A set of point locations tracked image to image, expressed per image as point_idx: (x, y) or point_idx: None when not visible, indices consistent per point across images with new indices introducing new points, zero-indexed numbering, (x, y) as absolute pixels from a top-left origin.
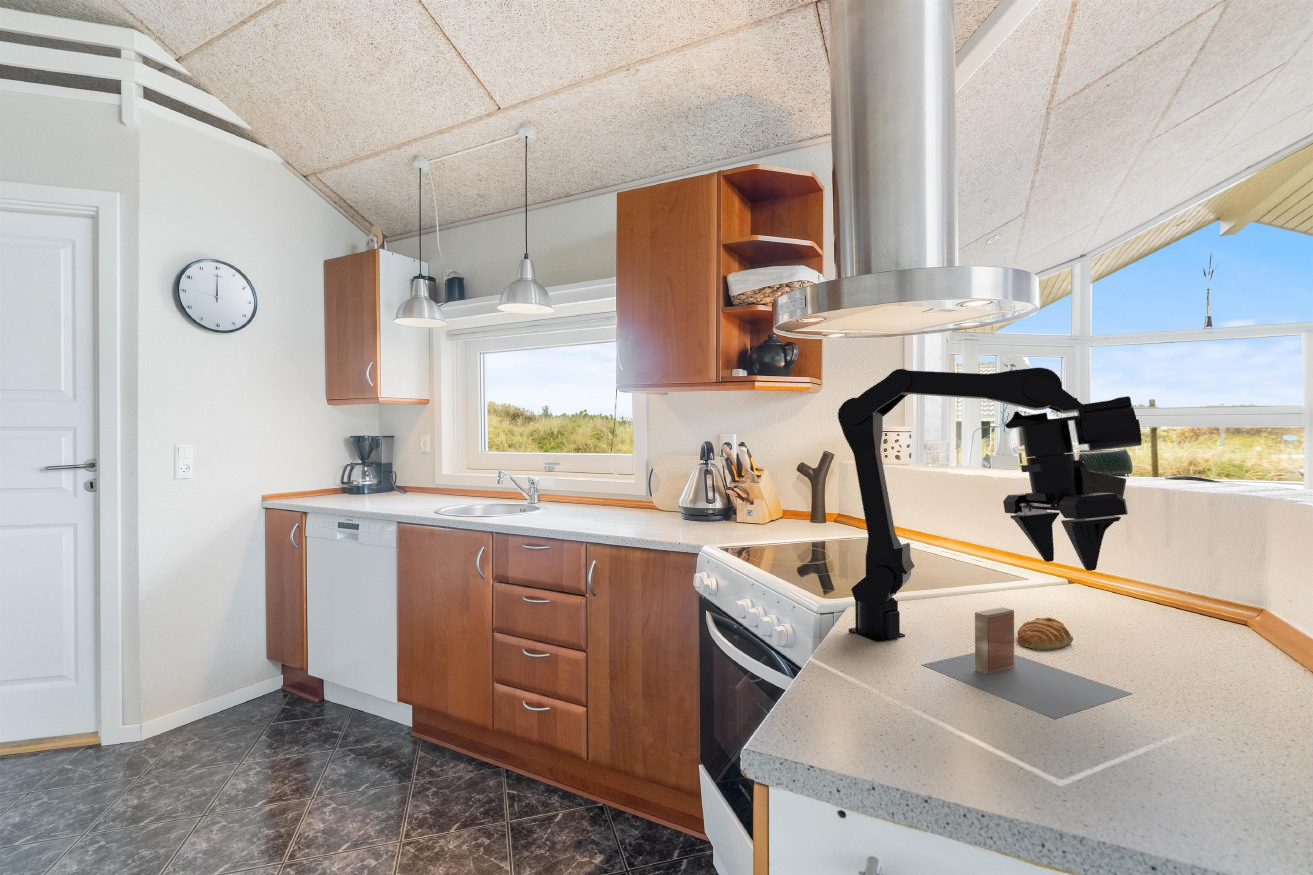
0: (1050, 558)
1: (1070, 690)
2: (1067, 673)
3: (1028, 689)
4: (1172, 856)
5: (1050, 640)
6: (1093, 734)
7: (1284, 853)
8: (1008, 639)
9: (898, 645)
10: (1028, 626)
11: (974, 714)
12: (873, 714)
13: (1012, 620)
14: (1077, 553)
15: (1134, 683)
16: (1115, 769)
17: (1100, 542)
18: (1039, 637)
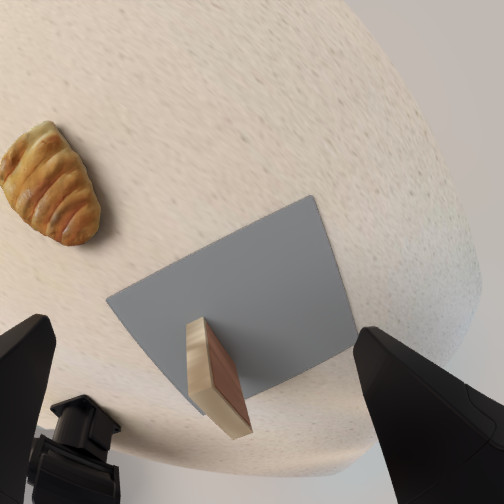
0: (45, 333)
1: (296, 284)
2: (227, 245)
3: (288, 335)
4: (462, 340)
5: (90, 199)
6: (382, 315)
7: (479, 287)
8: (217, 360)
9: (118, 410)
10: (39, 219)
11: (327, 395)
12: (312, 446)
13: (215, 376)
14: (378, 425)
15: (258, 145)
16: (420, 328)
17: (475, 396)
18: (86, 222)
